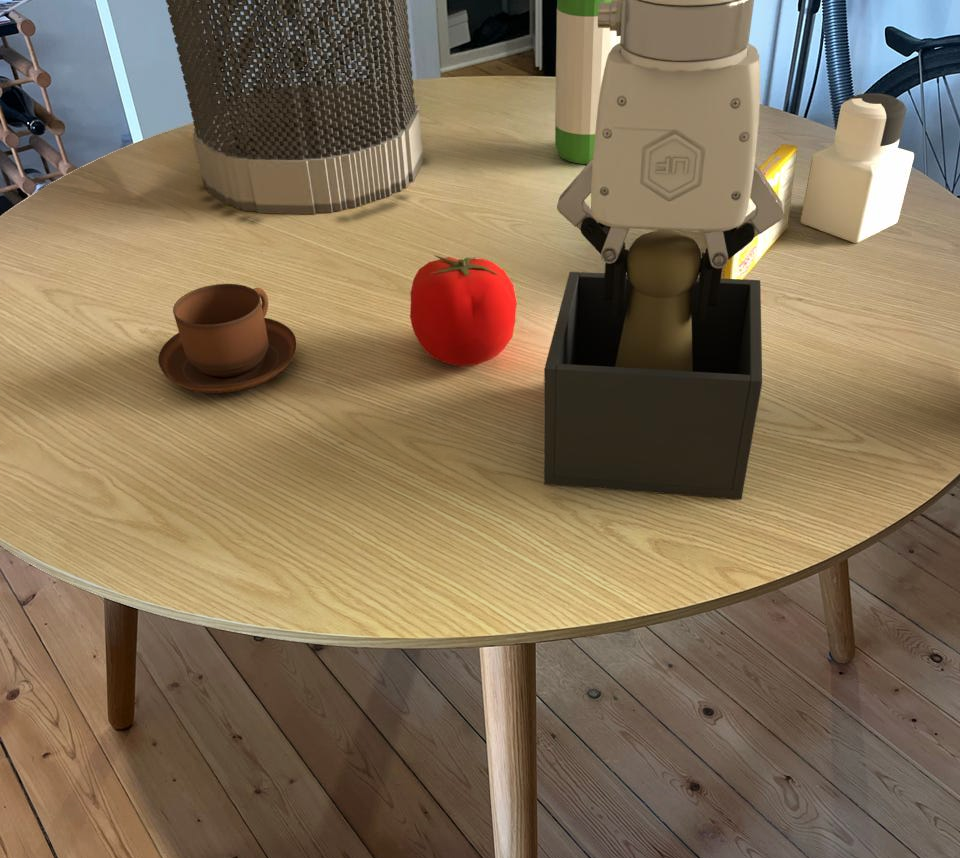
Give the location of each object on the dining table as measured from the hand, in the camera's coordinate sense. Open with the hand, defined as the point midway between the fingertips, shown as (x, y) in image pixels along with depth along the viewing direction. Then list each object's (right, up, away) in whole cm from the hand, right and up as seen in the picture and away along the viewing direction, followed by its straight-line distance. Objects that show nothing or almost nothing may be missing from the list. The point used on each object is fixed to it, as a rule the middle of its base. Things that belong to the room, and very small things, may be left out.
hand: (659, 308), depth 73 cm
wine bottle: (0, +34, +49) cm, 60 cm away
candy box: (+14, +14, +29) cm, 35 cm away
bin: (0, -8, +8) cm, 11 cm away
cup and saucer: (-35, 0, +18) cm, 39 cm away
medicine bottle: (+26, +19, +33) cm, 46 cm away
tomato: (-14, +2, +18) cm, 23 cm away
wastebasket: (-33, +33, +49) cm, 68 cm away
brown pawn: (0, -4, +4) cm, 6 cm away
